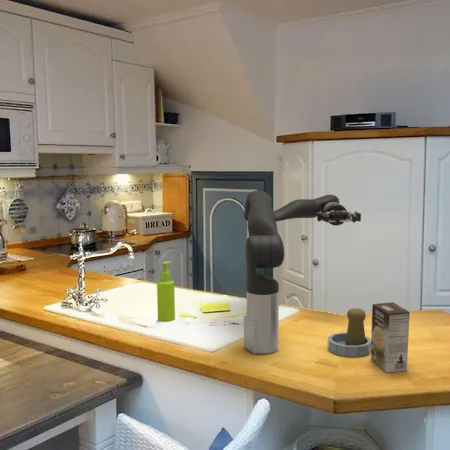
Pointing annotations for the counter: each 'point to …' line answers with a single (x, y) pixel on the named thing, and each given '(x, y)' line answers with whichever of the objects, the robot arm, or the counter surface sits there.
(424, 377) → the counter surface
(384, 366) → the coffee box
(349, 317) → the cork
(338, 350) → the slate dish
